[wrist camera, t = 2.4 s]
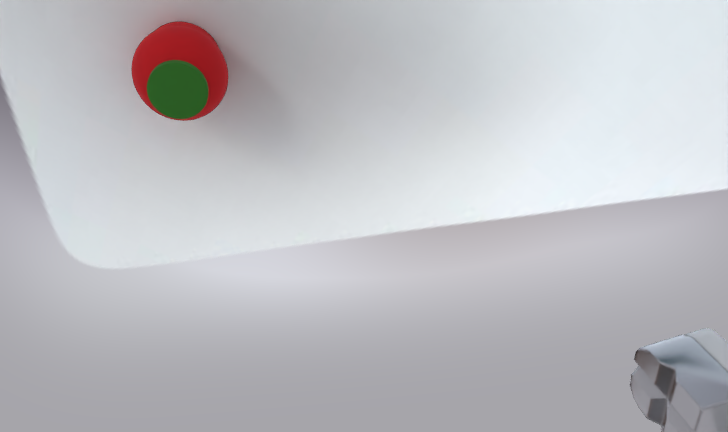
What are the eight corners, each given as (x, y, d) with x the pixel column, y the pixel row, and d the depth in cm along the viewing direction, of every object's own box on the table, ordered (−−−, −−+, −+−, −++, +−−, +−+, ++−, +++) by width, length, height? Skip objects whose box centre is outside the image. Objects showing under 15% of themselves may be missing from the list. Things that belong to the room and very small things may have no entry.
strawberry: (157, 107, 29) (146, 147, 25) (124, 25, 27) (107, 53, 23) (237, 89, 30) (240, 125, 26) (213, 6, 27) (211, 31, 23)
